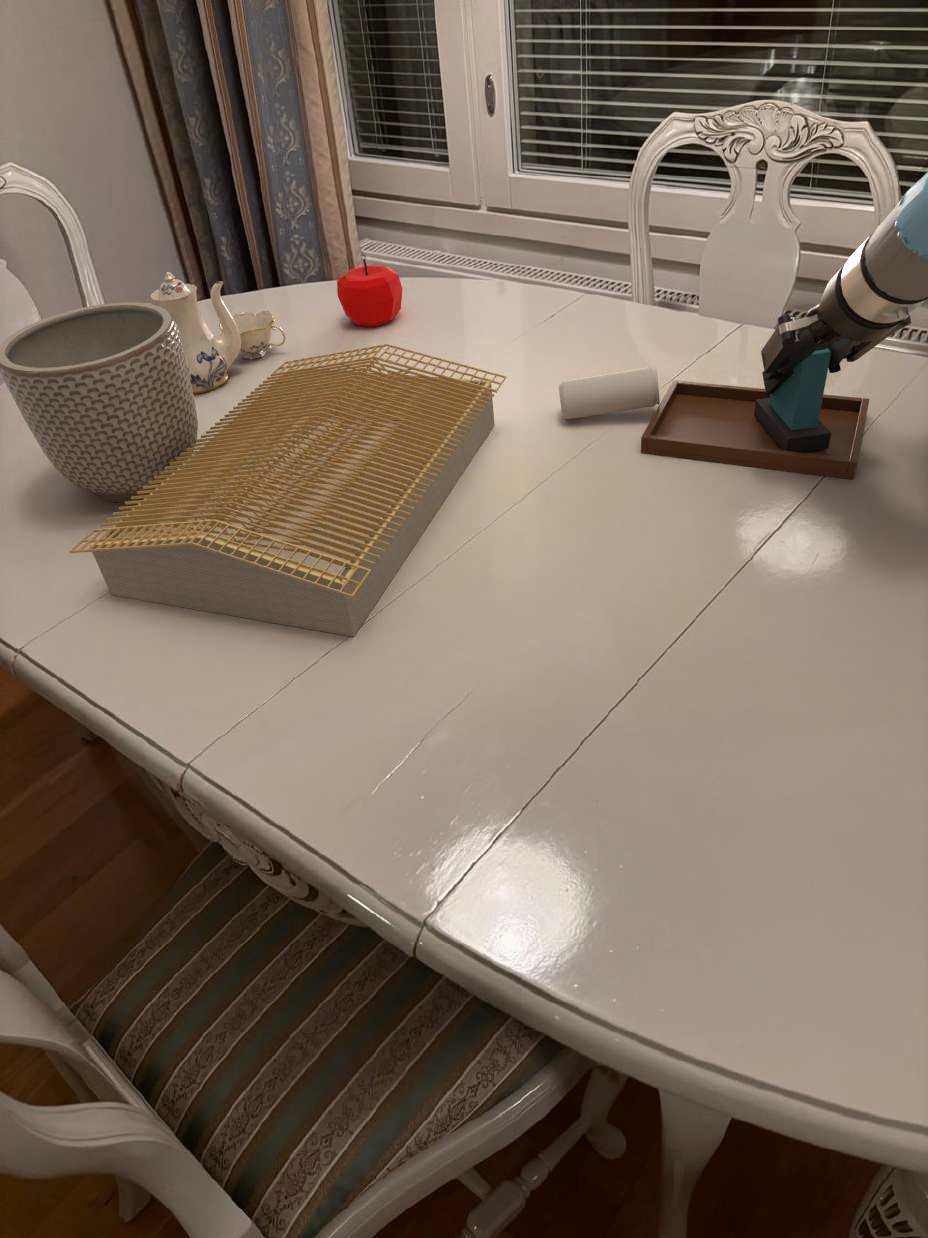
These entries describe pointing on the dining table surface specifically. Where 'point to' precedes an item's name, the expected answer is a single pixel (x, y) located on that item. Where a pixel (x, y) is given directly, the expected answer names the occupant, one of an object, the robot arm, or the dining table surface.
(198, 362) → the chinaware
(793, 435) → the teal block on base
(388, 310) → the apple
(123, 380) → the planter
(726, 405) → the tray
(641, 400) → the beverage can
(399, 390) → the roof frame
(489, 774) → the dining table surface
